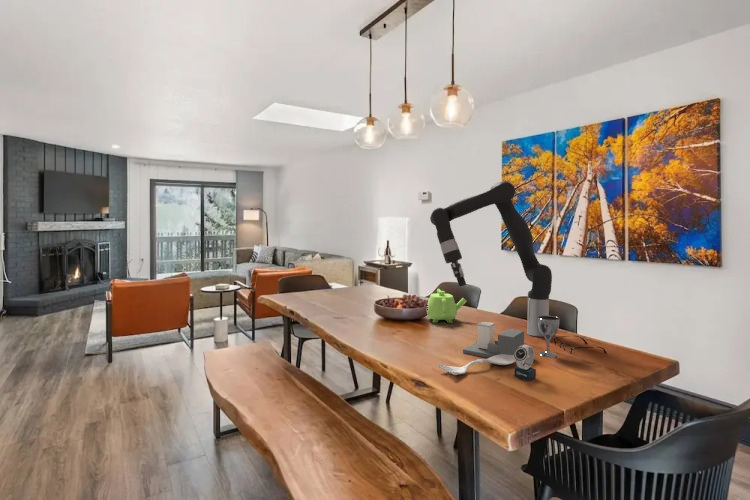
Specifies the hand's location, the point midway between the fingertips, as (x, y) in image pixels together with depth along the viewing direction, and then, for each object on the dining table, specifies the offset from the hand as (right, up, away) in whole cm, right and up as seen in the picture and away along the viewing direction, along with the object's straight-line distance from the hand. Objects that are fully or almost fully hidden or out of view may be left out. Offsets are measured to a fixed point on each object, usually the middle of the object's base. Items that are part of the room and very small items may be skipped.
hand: (463, 285), depth 187 cm
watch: (+13, -28, -42) cm, 52 cm away
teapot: (0, -22, +44) cm, 49 cm away
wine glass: (+30, -26, -17) cm, 44 cm away
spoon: (0, -28, -33) cm, 43 cm away
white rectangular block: (+7, -24, -13) cm, 28 cm away
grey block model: (+9, -26, -15) cm, 32 cm away
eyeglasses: (+47, -26, -9) cm, 54 cm away
